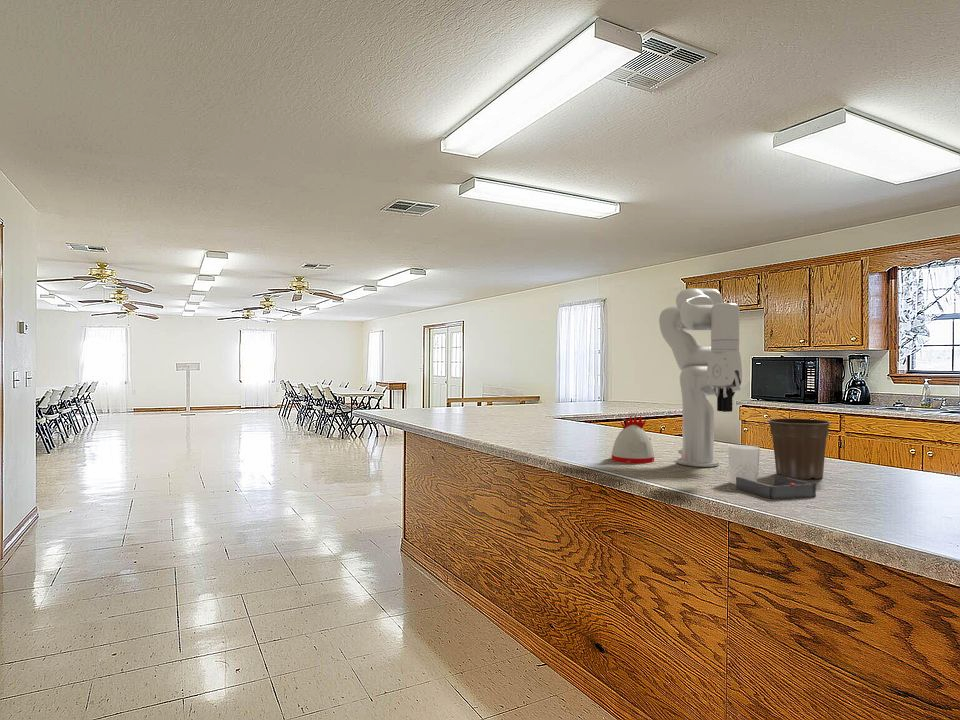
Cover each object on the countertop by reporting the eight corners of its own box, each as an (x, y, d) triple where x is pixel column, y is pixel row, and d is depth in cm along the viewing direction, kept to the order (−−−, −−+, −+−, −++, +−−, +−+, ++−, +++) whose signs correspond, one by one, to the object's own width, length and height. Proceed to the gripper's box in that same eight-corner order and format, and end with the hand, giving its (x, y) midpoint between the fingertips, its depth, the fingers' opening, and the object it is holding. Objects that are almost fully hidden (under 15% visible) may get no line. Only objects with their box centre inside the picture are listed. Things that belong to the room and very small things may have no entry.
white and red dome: (659, 463, 201) (659, 417, 201) (616, 463, 201) (616, 417, 201) (648, 457, 215) (648, 413, 215) (608, 456, 215) (608, 413, 215)
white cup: (741, 487, 164) (741, 449, 164) (722, 481, 172) (722, 445, 172) (766, 485, 166) (766, 448, 166) (746, 480, 174) (746, 444, 174)
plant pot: (766, 478, 177) (766, 421, 177) (769, 469, 191) (769, 416, 191) (831, 483, 169) (831, 424, 169) (829, 474, 184) (829, 419, 184)
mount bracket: (735, 488, 162) (736, 475, 162) (776, 485, 166) (777, 473, 166) (772, 499, 150) (772, 485, 150) (816, 496, 154) (816, 482, 154)
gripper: (696, 347, 183) (696, 409, 183) (732, 346, 168) (731, 414, 168) (718, 347, 185) (718, 408, 185) (755, 346, 170) (754, 413, 170)
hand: (724, 410), depth 177 cm, fingers closed
